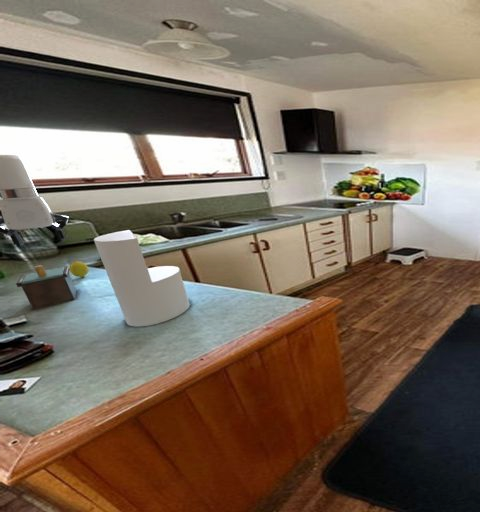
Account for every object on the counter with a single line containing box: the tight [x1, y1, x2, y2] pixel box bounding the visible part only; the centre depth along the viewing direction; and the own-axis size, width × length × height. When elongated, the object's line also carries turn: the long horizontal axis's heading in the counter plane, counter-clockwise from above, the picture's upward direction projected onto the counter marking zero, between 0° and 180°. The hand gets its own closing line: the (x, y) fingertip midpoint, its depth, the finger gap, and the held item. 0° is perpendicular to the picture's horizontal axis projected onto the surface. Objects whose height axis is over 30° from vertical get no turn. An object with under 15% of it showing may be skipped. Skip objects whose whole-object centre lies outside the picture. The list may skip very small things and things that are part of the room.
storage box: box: [15, 265, 77, 311], centre depth 103 cm, size 12×12×11 cm
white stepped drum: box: [93, 229, 191, 327], centre depth 89 cm, size 17×17×28 cm
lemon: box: [69, 260, 89, 278], centre depth 125 cm, size 6×6×8 cm
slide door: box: [21, 264, 66, 284], centre depth 101 cm, size 10×11×5 cm
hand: (42, 243), depth 96 cm, fingers open, 9 cm apart
